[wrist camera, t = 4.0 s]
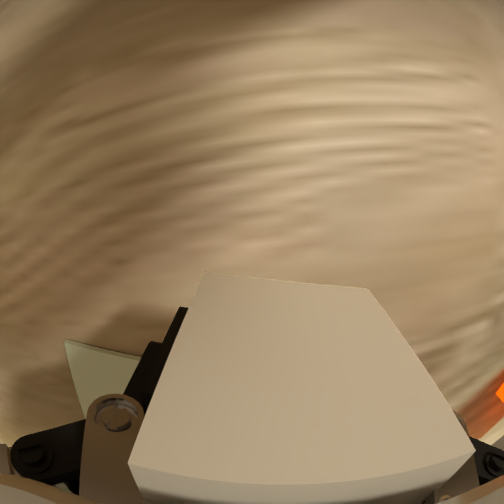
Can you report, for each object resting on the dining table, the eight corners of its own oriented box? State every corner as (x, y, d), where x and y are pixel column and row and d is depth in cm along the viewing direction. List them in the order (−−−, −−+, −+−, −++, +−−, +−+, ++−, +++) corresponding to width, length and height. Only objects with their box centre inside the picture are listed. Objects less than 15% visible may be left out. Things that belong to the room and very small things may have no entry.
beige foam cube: (204, 271, 9) (127, 462, 3) (367, 288, 9) (475, 450, 3) (199, 393, 11) (168, 546, 4) (329, 402, 11) (361, 546, 4)
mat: (66, 339, 15) (63, 342, 15) (412, 373, 16) (415, 376, 16) (107, 468, 19) (106, 471, 19) (344, 490, 20) (345, 493, 20)
